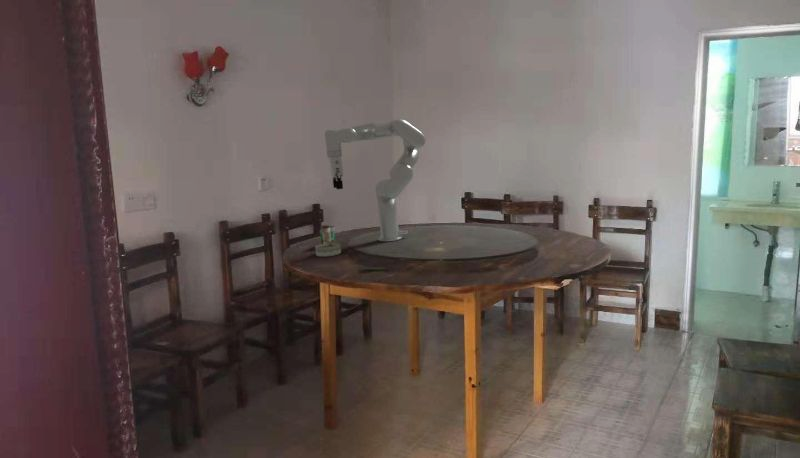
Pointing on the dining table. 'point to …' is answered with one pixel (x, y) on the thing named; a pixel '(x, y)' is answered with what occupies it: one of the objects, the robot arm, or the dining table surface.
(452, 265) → the dining table surface
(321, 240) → the food container
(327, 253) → the bead
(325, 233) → the peg
